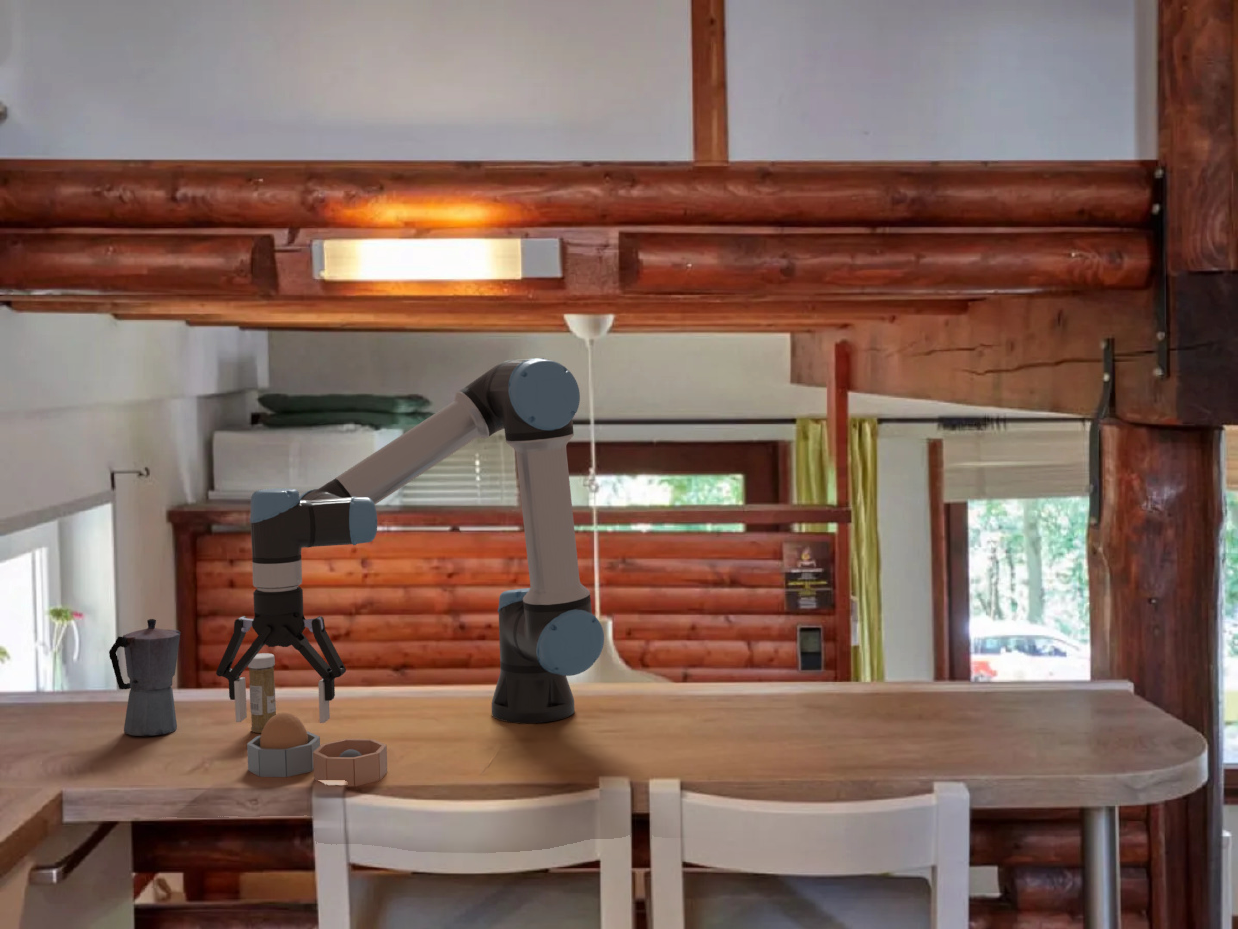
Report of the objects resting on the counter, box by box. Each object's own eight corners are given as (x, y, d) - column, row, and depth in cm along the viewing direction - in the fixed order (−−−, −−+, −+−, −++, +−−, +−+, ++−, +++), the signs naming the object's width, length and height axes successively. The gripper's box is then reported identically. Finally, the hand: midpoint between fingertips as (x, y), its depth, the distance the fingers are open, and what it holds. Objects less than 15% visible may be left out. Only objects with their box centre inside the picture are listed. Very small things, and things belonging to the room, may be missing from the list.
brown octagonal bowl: (392, 770, 211) (391, 739, 210) (374, 791, 200) (373, 759, 200) (329, 769, 212) (327, 738, 211) (307, 790, 201) (306, 758, 201)
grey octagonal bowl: (327, 761, 216) (326, 731, 215) (305, 782, 205) (304, 750, 205) (264, 761, 217) (263, 730, 216) (240, 781, 206) (239, 749, 206)
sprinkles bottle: (280, 731, 234) (278, 655, 233) (255, 735, 232) (252, 659, 231) (272, 725, 238) (269, 651, 237) (247, 729, 236) (244, 654, 235)
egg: (264, 775, 206) (263, 720, 206) (257, 763, 213) (255, 710, 212) (312, 769, 209) (310, 715, 209) (304, 757, 216) (302, 705, 215)
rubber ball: (367, 771, 208) (366, 746, 207) (359, 779, 204) (359, 754, 203) (342, 771, 208) (341, 746, 208) (334, 779, 204) (333, 753, 204)
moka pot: (201, 723, 240) (197, 614, 238) (138, 747, 226) (132, 630, 225) (161, 718, 244) (156, 610, 242) (96, 741, 230) (90, 626, 229)
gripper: (362, 583, 211) (366, 714, 213) (210, 583, 214) (216, 713, 215) (348, 591, 204) (352, 727, 206) (191, 591, 206) (197, 726, 208)
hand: (282, 720), depth 210 cm, fingers open, 13 cm apart
